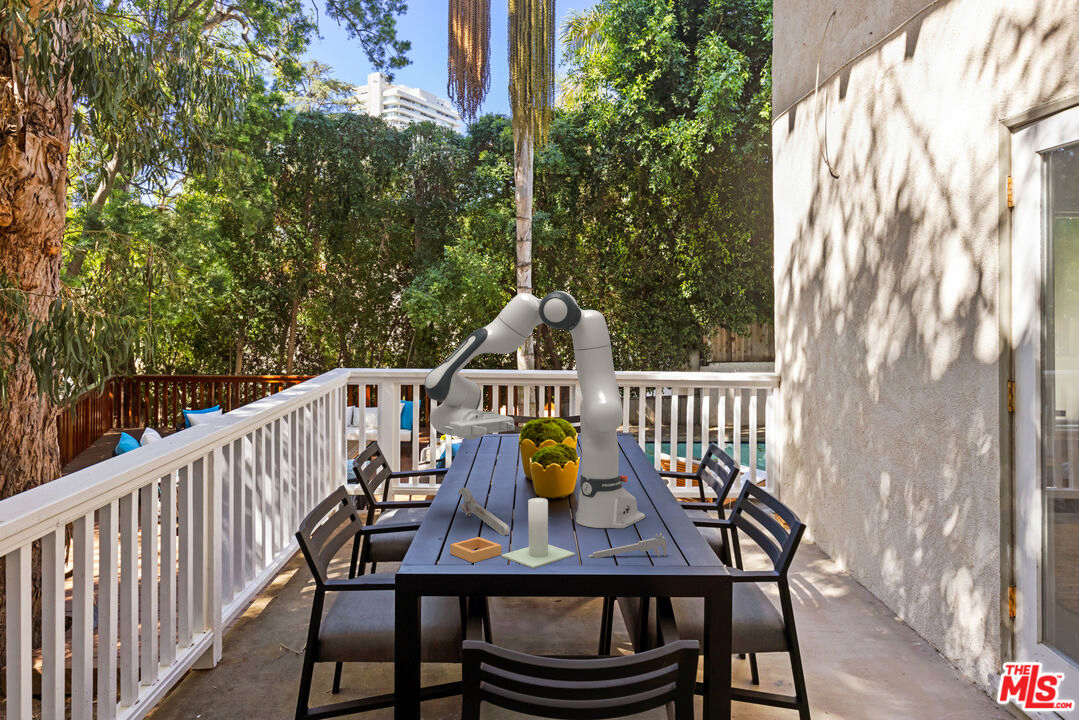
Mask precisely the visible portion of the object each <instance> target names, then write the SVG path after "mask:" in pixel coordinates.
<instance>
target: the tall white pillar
mask: <svg viewBox="0 0 1079 720" xmlns="http://www.w3.org/2000/svg"><path fill="white" fill-rule="evenodd" d="M548 501H549V500H548V499H547V498H543V497H535V498H533V497H532V498H530V499H528V501H527V503H528V505H527V506H528V509H527V510H528V523H527V524H528V547H529V555H530V556H532V557H544V556H547V555H548V544H549V502H548Z"/></svg>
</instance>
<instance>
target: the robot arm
mask: <svg viewBox="0 0 1079 720" xmlns="http://www.w3.org/2000/svg"><path fill="white" fill-rule="evenodd" d="M541 324H545V326H547V327H549V328H551V329H557V330H562V331H563V330H564V331H569V333H570V335H571V338H572V345H573V353H574V359H575V367H576V376H577V380H578V383H579V388H580V393H581V398H582V400H581V401H580V405H579V419H580V421H579V423H580V440H581V474H580V476H579V477H580V478H579V486H580V490H579V496H578V505H577V511H576V512H575V522H576V523H577V524H578V525H581V526H584V527H588V528H594V529H595V528H596V529H624V528H627V527H629V526H632V525H633V524H635V523H637V522H640V521H641V520H644V519H645V518H646V515H645V513H643V512H641V511H639V510H638V502H637V499H636V497H635V496H634V495H632V494H631V493H630V492H629V491H628V490H627V489H625V488H624V487H623V483H628V481H629V477H628V475H623V474H621V475H620V474H619V471H620V470H619V469H620V467H619V466H620V465H619V464H620V463H619V462H620V461H619V460H620V459H619V457H620V454H619V453H620V449H619V442H618V433H617V429H619V428H620V426H621V425H622V423H623V421H624V409H623V404H622V399H621V395H620V394H621V393H620V389H619V385H618V382H617V381H618V380H617V377H616V373H615V367H614V360H613V352H612V345H611V344H612V343H611V339H610V338H611V337H610V333H609V329H608V325H607V322H606V319H605V316H604V315H603V313H602V312H600V311H598V310H594V309H585V310H584V309H582V308H580V307H579V302H578V301H577V299H576V298H575V296H573V295H571V293H569V292H567V291H563V290H555V291H551V292H549V293H547V294H545V295H544V297H543V298H538V297H537V296H535V295H533V294H531V293H529V292H528V293H527V292H520V293H518V294H517V295H515V296H514V297H512V299H511V300H510V301H509V302H508V303H507V304H506V305H505V306H504V308H503V309H501V311H500V313H498V315H497V316H496V317H495V318H494V320H493V321H492V322H490V323H489V324H487V325H486V326H483V327H480V328H477V329H475V330H474V331H473V332H471V333H470V334H469V335H468V336H467V337H466V338H465V339H464V340H463V341H462V342H461V343H460V344H459V345H458V346H457V347H456V348H455V349H453V351H452V352H451V353H450V354H449V355H448V356H447V357H446V358H445V359H444V360H443V361H442V362H441V363H440V364H438V365H437V366H436V367H434V368H433V369H431V370H430V372H429V373H428V374H427V375H426V377H425V379H424V390H425V392H426V395H427V397H428V398H429V399H431V400H433V401H436V402H439V403H440V405H438V406H435V407H434V408H432V410H431V412H430V415H429V420H430V424H431V426H432V428H433V429H434V430H435V431H437V432H439V434H440V433H441V434H443V435H447V436H452V437H457V438H461V439H462V438H463V439H465V440H471V441H473V440H476V439H478V438H479V437H483V436H484V435H489V434H495V433H502V432H507V431H508V432H512V431H515V430H516V429H515V427H516V425H515V419H514V418H513V417H511V416H508V415H504V414H500V413H495V411H493V410H479V406H480V404H481V400H482V391H481V387H480V386H479V384H478V382H475V381H472V380H470V379H469V378H467V377H464V376H462V375H460V374H459V373H460V372H461V371H462V370H463V368H465V366H466V365H467V364H468V363H469V362H471V360H473V359H474V358H475V357H477V356H479V355H482V354H499V355H503V354H504V355H505V354H511V353H514V352H516V351H517V350H518V349H519V348H520V347H522V345H523V344H524V343H525V341H526V340H527V339H528V337H529V336H530V334H531V333H532V332H533V331H534V330H535V328H536V327H537V326H540V325H541Z"/></svg>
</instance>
